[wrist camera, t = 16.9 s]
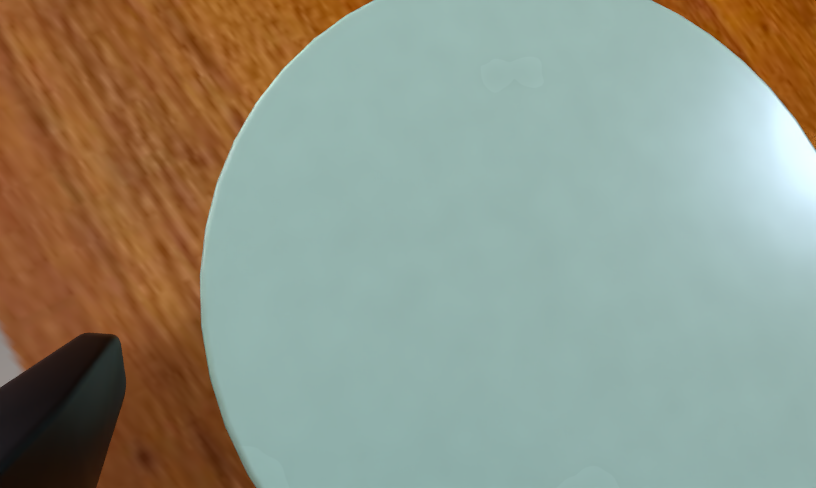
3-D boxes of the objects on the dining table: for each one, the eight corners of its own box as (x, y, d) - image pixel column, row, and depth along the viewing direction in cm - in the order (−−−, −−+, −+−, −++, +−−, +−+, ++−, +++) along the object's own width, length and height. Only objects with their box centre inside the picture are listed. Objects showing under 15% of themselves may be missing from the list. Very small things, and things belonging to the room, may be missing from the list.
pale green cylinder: (502, 428, 16) (964, 566, 5) (300, 468, 15) (240, 773, 4) (465, 235, 17) (767, -47, 6) (274, 260, 16) (166, -20, 5)
